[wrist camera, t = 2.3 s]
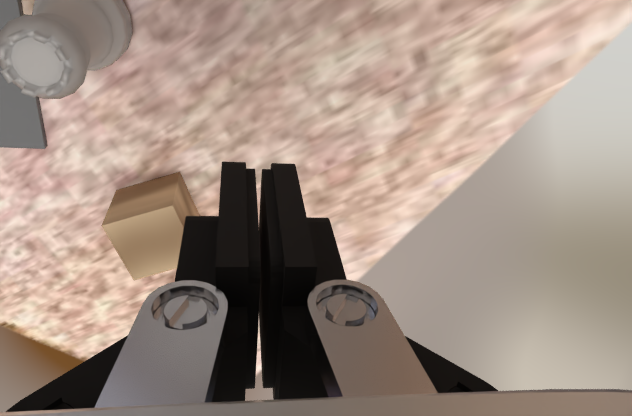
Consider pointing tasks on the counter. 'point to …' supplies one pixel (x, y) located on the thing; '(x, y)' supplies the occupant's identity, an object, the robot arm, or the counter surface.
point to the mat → (18, 101)
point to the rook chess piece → (63, 44)
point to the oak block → (149, 224)
